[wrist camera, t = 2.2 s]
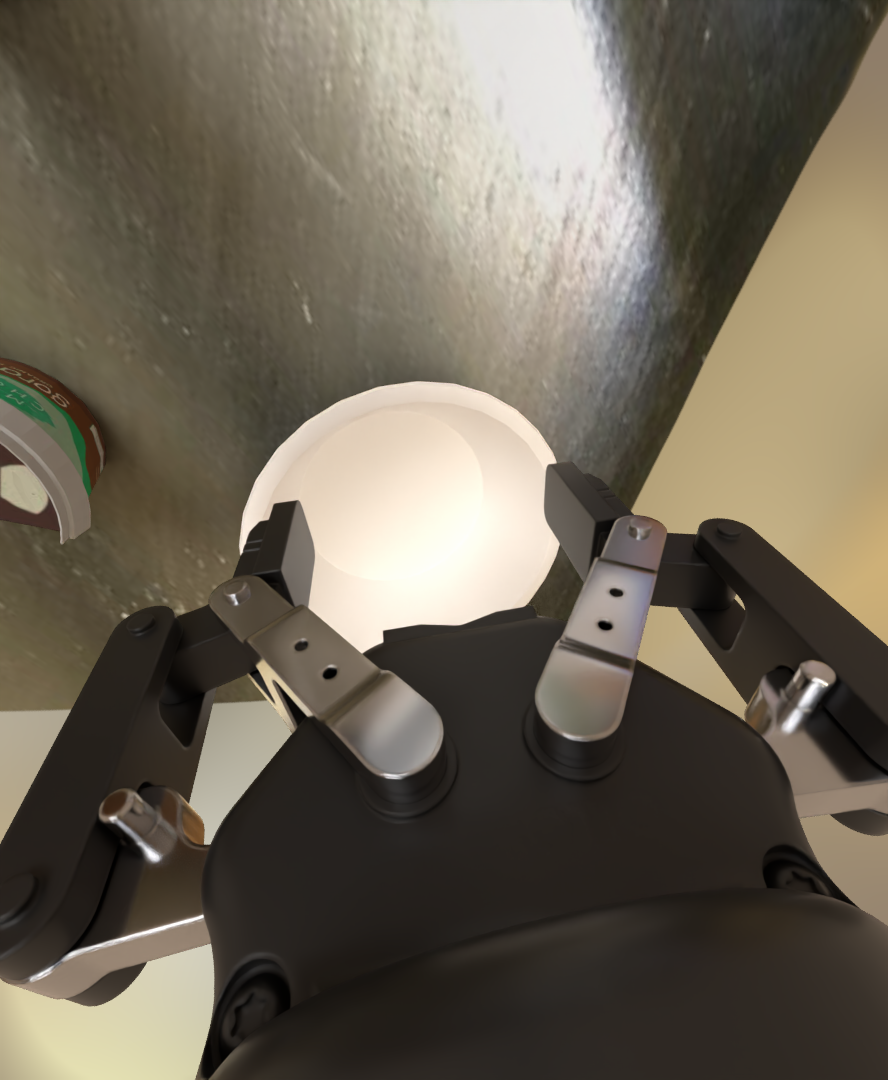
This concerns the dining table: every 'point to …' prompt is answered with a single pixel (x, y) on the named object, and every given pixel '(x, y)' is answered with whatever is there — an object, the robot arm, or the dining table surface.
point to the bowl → (414, 507)
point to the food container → (46, 452)
